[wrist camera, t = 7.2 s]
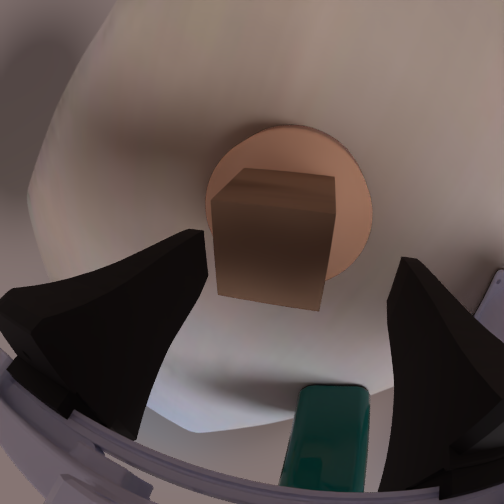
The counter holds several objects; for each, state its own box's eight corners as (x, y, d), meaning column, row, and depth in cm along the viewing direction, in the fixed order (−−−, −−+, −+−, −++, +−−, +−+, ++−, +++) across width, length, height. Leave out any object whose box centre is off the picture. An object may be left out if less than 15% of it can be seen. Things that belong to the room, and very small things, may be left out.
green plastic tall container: (372, 383, 27) (350, 573, 9) (362, 415, 32) (340, 566, 14) (287, 381, 30) (235, 561, 12) (291, 413, 35) (251, 557, 17)
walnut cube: (324, 255, 17) (318, 311, 13) (244, 244, 18) (217, 294, 14) (334, 176, 15) (336, 213, 10) (244, 167, 16) (210, 200, 12)
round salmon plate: (352, 266, 21) (353, 295, 18) (226, 248, 23) (210, 273, 20) (375, 134, 16) (385, 144, 13) (222, 121, 18) (201, 128, 15)
